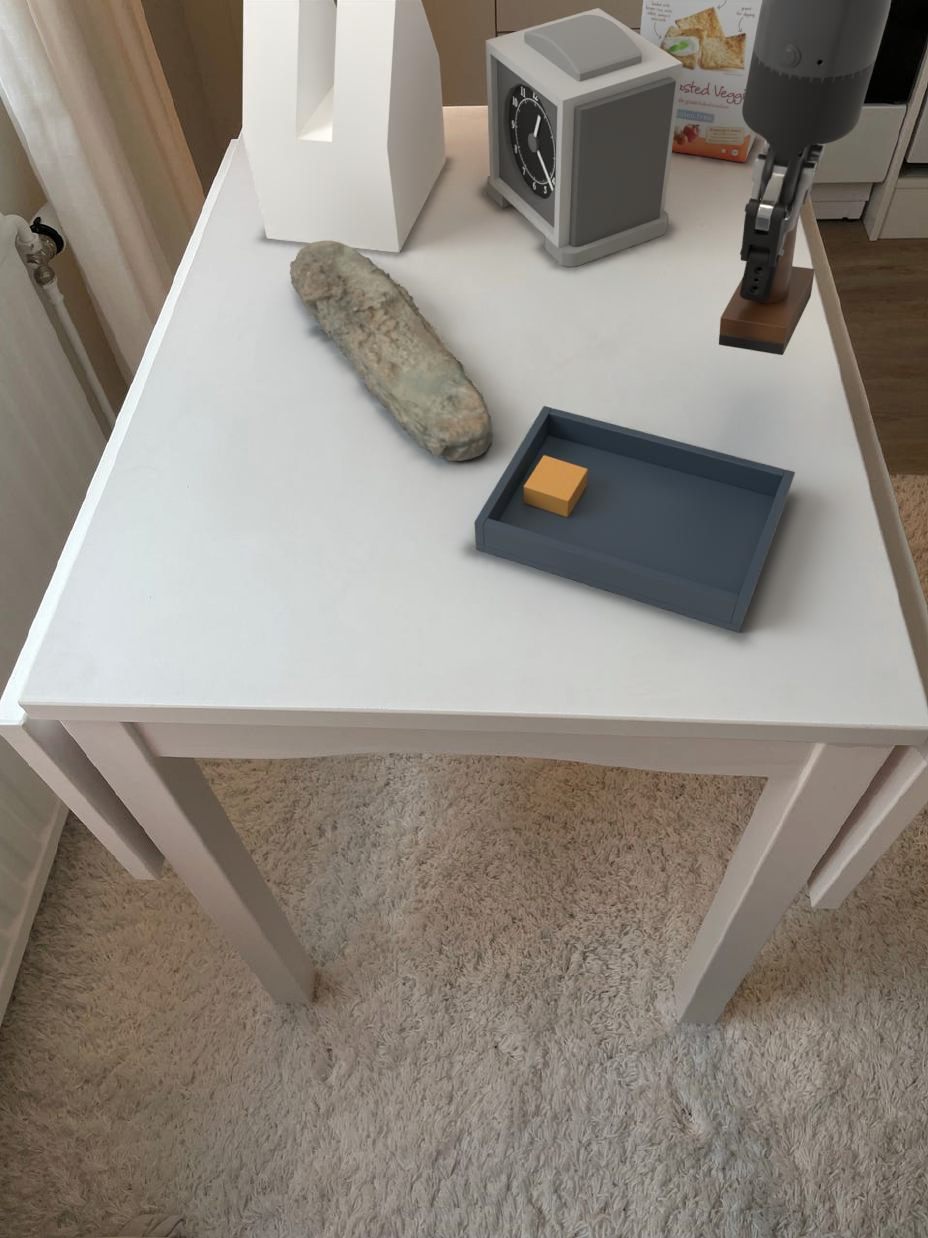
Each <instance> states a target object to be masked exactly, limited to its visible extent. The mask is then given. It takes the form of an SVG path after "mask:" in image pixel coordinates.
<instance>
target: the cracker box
mask: <svg viewBox="0 0 928 1238" xmlns="http://www.w3.org/2000/svg"><path fill="white" fill-rule="evenodd" d="M761 4H762V0H642V10H641V17H640V18H641V19H640V31H639V35H640V36H642V37H644V38H645V39H647V40H648V41H650V42H651V43H653V44H654V45H656V46H657V47H659V48H660V49H662V50H664V51H665V52H667V53H668V54H670V55H671V56H673V57H674V58H676V59H677V60H679V61H680V62H682V63H683V66H682V74H681V82H680V90H679V98H678V106H677V114H676V122H675V129H674V137H673V145H672V152H676V153H683V154H687V155H688V154H689V155H695V156H702V157H708V158H714V159H720V160H727V161H733V162H739V163H745V162H746V161H747V158H748V156H749V153H750V151H751V149H752V147H753V144H754V142H755V139H756V137H757V134H756V133H755V132H754V131H752V130H751V129H750V128H749V127H748V125H747V124H746V123H745V121H744V118H743V114H742V107H743V102H744V96H745V91H746V85H747V80H748V74H749V69H750V63H751V58H752V52H753V47H754V41H755V36H756V30H757V25H758V19H759V14H760V9H761Z"/></svg>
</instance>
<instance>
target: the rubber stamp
mask: <svg viewBox="0 0 928 1238" xmlns="http://www.w3.org/2000/svg"><path fill="white" fill-rule="evenodd" d="M790 212H791V211H788V213H790ZM798 225H799V221H798V222H797V223H796V225H795V227H794V229H793V230H792V231H790V232H787V236H786V240H785V243H784V247H783V249H784V254H783V256H782V257H780V260H779V263H778V267H777V271H776V275H775V279H774V283H773V287H772V292H771V295H770V297H769V299H768V301H767V302H765V303H759V302H755V301H750V300H746V299H743V298H742V297H741V296H740V289H741V285H742V280H743V277H742V278H741V280H740V281H739V283H738V285H737V287H736V289H735V291H734V292H733V294H732V296H731V298H730V300H729V301H728V303H727V304H726V307H725V308H724V311H723V312H722V314H721V316H720V319H719V334H718V345H719V346H723V347H730V348H736V349H742V350H748V351H754V352H760V353H766V354H772V355H779V356H783V355H784V354H785V352H786V350H787V347H788V346H789V344H790V342H791V339H792V336H793V335H794V333H795V331H796V328H797V326H798V325H799V323H800V320H801V319H802V316H803V314H804V312H805V310H806V307H807V305H808V303H809V301H810V299H811V297H812V290H813V284H814V277H815V272H816V270H815V269H814V268H810V267H803V266H794V265H793V264H794V263H793V262H794V255H795V247H796V239H797V232H798Z"/></svg>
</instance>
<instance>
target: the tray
mask: <svg viewBox="0 0 928 1238" xmlns="http://www.w3.org/2000/svg"><path fill="white" fill-rule="evenodd" d="M544 455H545V456H548V457H552V458H555V459H558V460H561V461H564V462H567V463H571V464H574V465H577V466H580V467H583V468H586V469H588V474H587V486H586V488H585V489H584V491H583V493H582V494H581V496H580V498H579V499H578V501H577V503H576V504H575V506H574V508H573V509H572V511H571V513H570V514H569V516H568V517H565V516H562V515H559V514H556V513H553V512H550V511H547V510H544V509H541V508H538V507H535V506H532V505H529V504H526V503H524V485H525V484H526V482H527V481H528V479H529V477H530V476H531V474H532V473H533V471H534V470H535V468H536V467H537V465H538V463H539V462H540V460H541V459H542V457H543V456H544ZM795 474H796V471H793V470H789V469H785V468H782V467H777V466H773V465H771V464H767V463H762V462H758V461H754V460H750V459H747V458H743V457H740V456H736V455H732V454H728V453H725V452H720V451H716V450H713V449H708V448H706V447H703V446H702V447H701V446H698V445H694V444H690V443H687V442H682V441H678V440H676V439H671V438H668V437H663V436H660V435H656V434H652V433H649V432H644V431H640V430H637V429H633V428H630V427H626V426H623V425H622V426H621V425H618V424H615V423H610V422H607V421H603V420H599V419H595V418H592V417H588V416H585V415H580V414H576V413H574V412H573V413H572V412H570V411H569V412H568V411H565V410H560V409H558V408H554V407H551V406H547V405H543V406H542V408H541V409H540V411H539V413H538V415H537V416H536V418H535V419H534V421H533V423H532V425H531V426H530V428H529V430H528V431H527V433H526V435H525V437H523V439H522V442H521V443H520V445H519V447H518V449H517V450H516V451H515V453H514V454H513V456H512V458H511V460H510V462H509V463H508V465H507V467H506V468H505V470H504V471H503V473H502V475H501V477H500V478H499V480H498V481H497V484H496V485H495V487H494V488H493V490H492V492H491V494H490V495H489V497H488V498H487V500H486V502H485V504H484V505H483V507H482V508H481V510H480V512H479V514H478V515H477V517H476V518H475V520H474V522H473V523H474V537H475V549H476V550H477V551H481V552H484V553H487V554H489V555H494V556H497V557H500V558H503V559H506V560H510V561H512V562H515V563H519V564H522V565H525V566H528V567H531V568H534V569H538V570H541V571H545V572H547V573H551V574H554V575H557V576H560V577H563V578H566V579H570V580H572V581H576V582H579V583H582V584H585V585H588V586H592V587H595V588H596V589H597V588H598V589H601V590H604V591H607V592H610V593H613V594H617V595H620V596H622V597H627V598H630V599H632V600H636V601H639V602H642V603H645V604H648V605H651V606H655V607H657V608H660V609H664V610H668V611H670V612H673V613H676V614H680V615H682V616H686V617H689V618H692V619H695V620H699V621H702V622H705V623H708V624H710V625H714V626H717V627H720V628H724V629H727V630H731V631H732V632H733V631H734V632H736V633H739V632H740V631H741V629H742V627H743V623H744V620H745V617H746V615H747V612H748V609H749V606H750V603H751V600H752V597H753V595H754V592H755V589H756V588H757V587H756V586H757V583H758V581H759V578H760V576H761V573H762V569H763V567H764V565H765V562H766V559H767V555H768V553H769V550H770V547H771V544H772V541H773V539H774V537H775V536H774V535H775V533H776V530H777V528H778V524H779V523H780V519H781V516H782V513H783V511H784V509H785V505H786V503H787V499H788V496H789V493H790V489H791V487H792V484H793V481H794V478H795Z"/></svg>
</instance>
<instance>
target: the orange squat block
mask: <svg viewBox="0 0 928 1238" xmlns="http://www.w3.org/2000/svg"><path fill="white" fill-rule="evenodd" d="M587 474H588V469H586V468H583V467H580V466H577V465H574V464H571V463H567V462H564V461H561V460H558V459H555V458H552V457H548V456H545V455H544V456H543V457H542V459H541V460H540V462H539V463H538V465H537V467H536V468H535V470H534V471H533V473H532V474H531V476H530V477H529V479H528V481H527V482H526V484H525V485H524V503H526V504H529V505H532V506H535V507H538V508H541V509H544V510H547V511H550V512H553V513H556V514H559V515H562V516H565V517H568V516H569V514H570V513H571V511H572V509H573V508H574V506H575V504H576V503H577V501H578V499H579V498H580V496H581V494H582V493H583V491H584V489H585V488H586V486H587Z"/></svg>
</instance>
